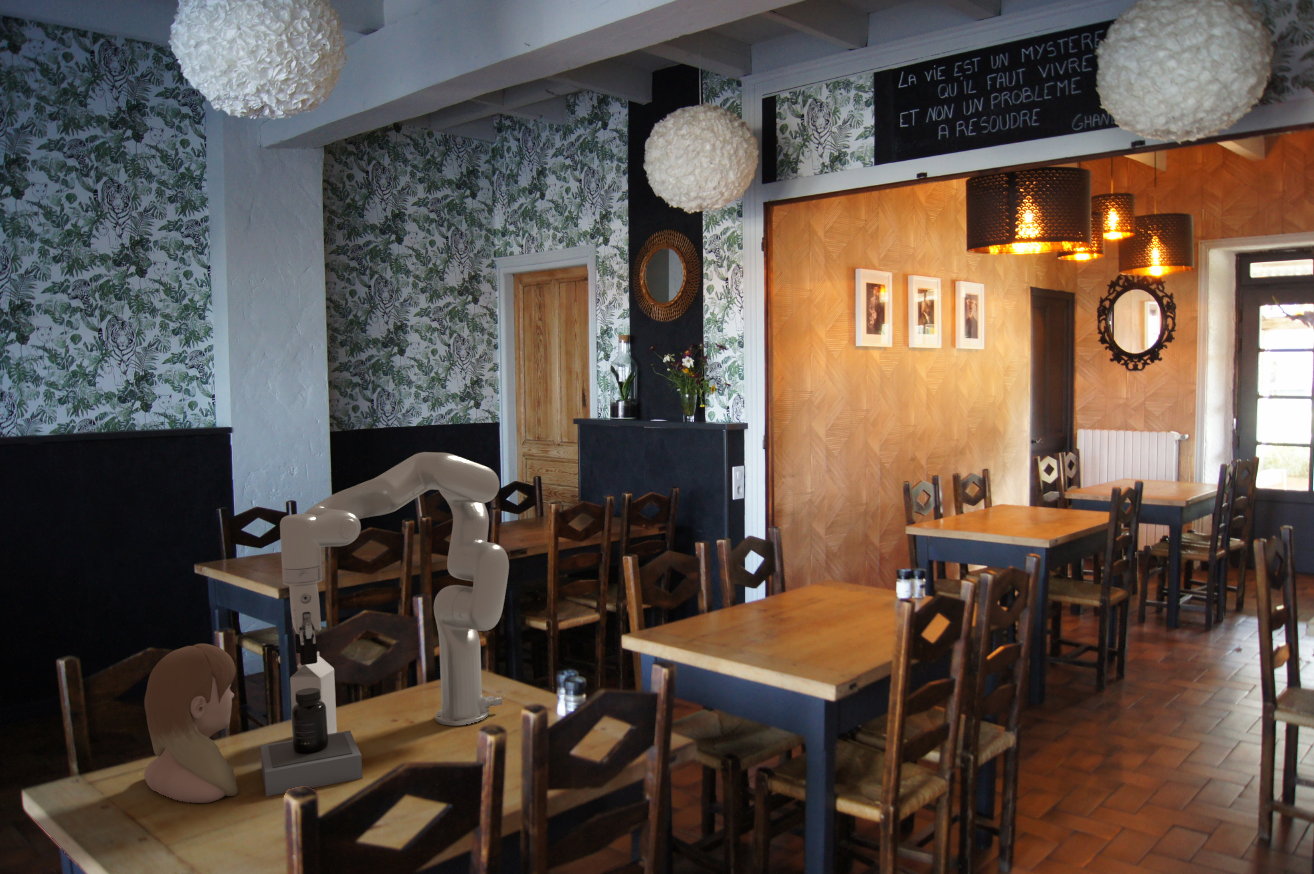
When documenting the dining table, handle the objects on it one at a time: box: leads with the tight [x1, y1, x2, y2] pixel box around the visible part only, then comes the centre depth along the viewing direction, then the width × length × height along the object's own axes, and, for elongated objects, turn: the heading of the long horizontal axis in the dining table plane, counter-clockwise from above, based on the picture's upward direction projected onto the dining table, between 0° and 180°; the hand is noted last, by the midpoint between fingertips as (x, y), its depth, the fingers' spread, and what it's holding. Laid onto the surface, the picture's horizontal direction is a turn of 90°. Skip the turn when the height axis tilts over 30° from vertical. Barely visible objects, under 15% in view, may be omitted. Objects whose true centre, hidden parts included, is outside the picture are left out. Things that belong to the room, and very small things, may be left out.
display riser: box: [260, 730, 363, 797], centre depth 196 cm, size 18×16×5 cm
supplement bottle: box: [290, 688, 328, 754], centre depth 196 cm, size 7×7×12 cm
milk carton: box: [289, 650, 338, 734], centre depth 216 cm, size 7×7×19 cm
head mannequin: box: [143, 643, 239, 804], centre depth 191 cm, size 25×17×28 cm
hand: (306, 657), depth 195 cm, fingers open, 9 cm apart
